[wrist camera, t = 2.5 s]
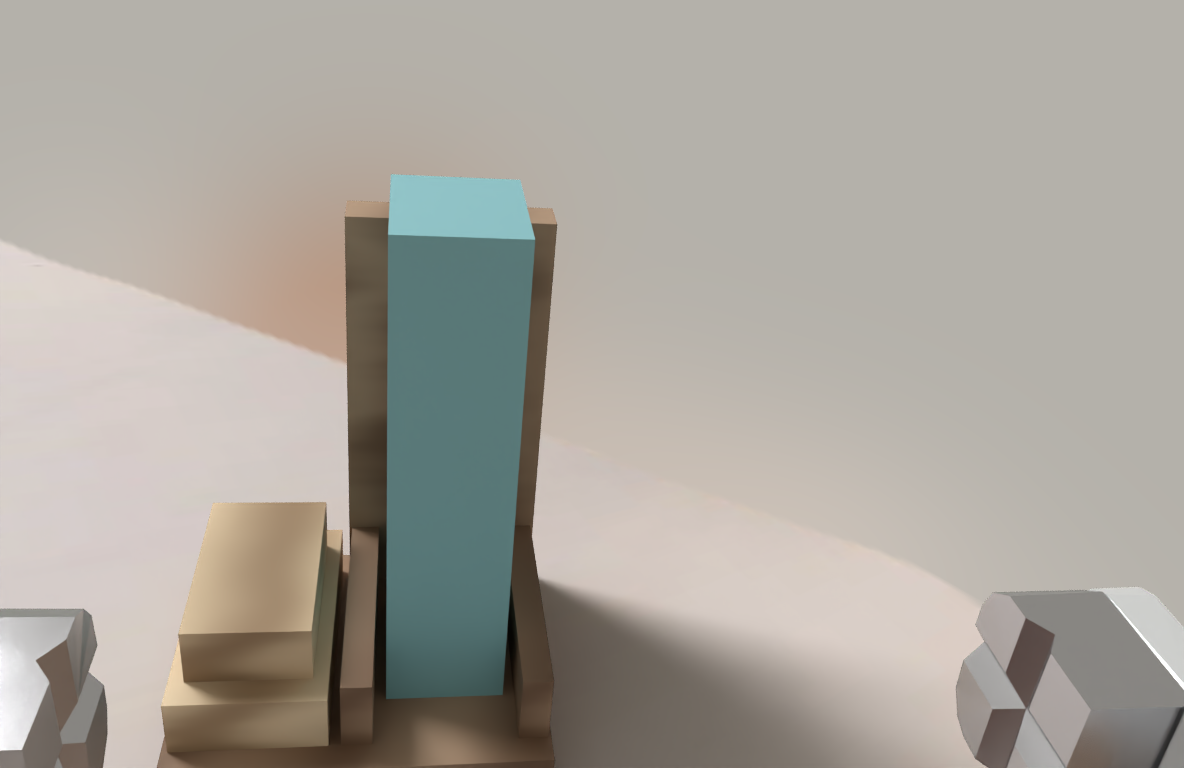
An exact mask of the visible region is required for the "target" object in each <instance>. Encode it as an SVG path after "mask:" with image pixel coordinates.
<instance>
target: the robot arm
mask: <svg viewBox="0 0 1184 768" xmlns="http://www.w3.org/2000/svg"><path fill="white" fill-rule="evenodd" d="M975 625H976V627H977V629H978V631H979V633H980V635H981V637H982V638H983V640H984V643H983V644H981V645H980V646H979V647H978V648H977V649H976V650H975V651H974V652H972V653H971V654H970V655H969V656H968V657H967V658H966V659H964V660H963V664H962V667H961V671H960V675H959V678H958V682H957V685H956V699H957V716H958V720H959V723H960V726H961V730H962V733H963V736H964V738H965V740H966V742H967V744H968V746H969V748H970V750H971V752H972V754H973V755H974V757H975V759H977V760H978V761H979V762H981V763H982V764H984V765H985V766H986V767H988V768H1184V627H1183V626H1182V625H1181V624H1180V623H1179V622H1178V620H1177V619H1176V618H1175V617H1174V616H1173V615H1172V614H1171V613H1170V611H1169V610H1168V609H1167V608H1166V607H1165V606H1164V605H1163V604H1162V602H1161V601H1160V600H1159V599H1158V598H1157V597H1156V596H1155V595H1154V594H1152V593H1150V592H1148V591H1146V590H1145V589H1143V588H1141V587H1125V588H1101V589H1100V588H1098V589H1090V590H1088V591H1087V590H1070V591H1030V592H994V593H992V595H990V596H989V598H988V599H987V600H986V601H985V602H984V603H983V604H982V607H981V610H980V613H979V616H978V619H977V621H976V624H975ZM96 648H97V641H96V636H95V631H94V626H93V621H92V616H91V615H90V614H89V613H88V612H87V611H85V610H84V609H0V768H103V763H104V755H105V748H106V741H107V704H106V697H105V690H104V685H103V684H102V683H101V682H99V681H98V680H97V679H96V678H95V677H94V676H92V675H91V674H90V673H89V672H88V671H89V668H90V665H91V663H92V660H93V657H94V654H95V651H96Z"/></svg>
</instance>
